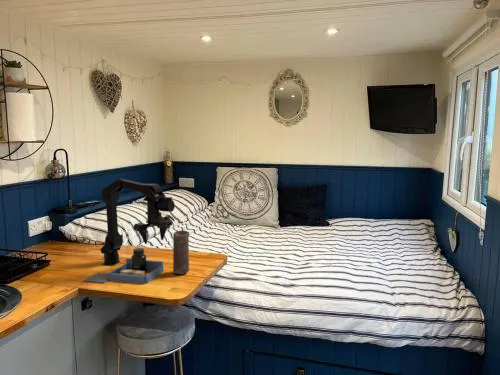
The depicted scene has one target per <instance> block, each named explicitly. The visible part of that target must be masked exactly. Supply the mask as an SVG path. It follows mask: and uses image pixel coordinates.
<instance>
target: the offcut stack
mask: <svg viewBox="0 0 500 375" xmlns="http://www.w3.org/2000/svg"><path fill="white" fill-rule="evenodd" d="M120 274H127V275H137V276H146V275H147V274H145V271H137V270H131V269H128V270H126V269H123V270H121V271H120Z"/></svg>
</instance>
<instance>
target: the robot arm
mask: <svg viewBox="0 0 500 375" xmlns="http://www.w3.org/2000/svg"><path fill="white" fill-rule="evenodd" d="M124 189H126V190H130V191H135V192H138V193H141V194H142V195H144V196H145V197H144V198H143V199H142V201H143V202H146V210H147V211H146V212H145V215H147V216H146V217H147V219H146V220H145V223H143V222H138V223H134V225H133V231H136V232H138V233H139V235H140V237H141V238H142V239H141V240H143V242H144V245H147V244H148V232H149V230H148V229H149V228H152V227H156V228H158V229H159V237H160V240H161V241H164V238H165V235H166V232H167V231H168V229H169V228H171V227H172V226H173V224H174V223H173V222H174V221H173V220H172V219H171V218H170V216H169V215H166V216H163V215H162V212H168V213H169V212H170V213H172V212H173V211H174V210H175V207H176V206H175V201H174V200H173V197H171V196H169V197H167V196H166V195H165V193H164V191H163V190H162V188H161V186H160V184H158V183H142V182H138V181H133V180H128V179H125V178H118V179H116V180H115V181H114V182H113V183H110V184H109V185H107V186H106V187H104V188H102V190H101V198H102V201H103V203H104V204H105V209H106V227H107V233H106V236H105V237H104V238H105V239H104V244H103V246H102V247H101V248H100V253H101V254H102V255H103V259H104V260H103V263H102V265H103V266H104V265H106V266H115V265H117V264H119V263H120V262H121V260H120V255H119V251H121V248H122V246H123V243H124V235H123V234H120V232H119V224H118V222H119V221H118V208H117V206H118V204H117V203H118V201H119V199H120V193H121V192H122V191H123V190H124Z"/></svg>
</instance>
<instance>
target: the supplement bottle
mask: <svg viewBox="0 0 500 375" xmlns="http://www.w3.org/2000/svg"><path fill="white" fill-rule="evenodd" d="M132 251H133V253H132V256H131V257H130V259H131V266H132V270H137V271H145V275H147V272H148V271H147V266H146V260H147V255H146V254H145V249H144V248H143V247H136V248H133V250H132Z"/></svg>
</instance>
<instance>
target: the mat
mask: <svg viewBox="0 0 500 375" xmlns="http://www.w3.org/2000/svg"><path fill="white" fill-rule="evenodd" d="M108 273H109V272H108ZM108 273H106V272H105V273H104V272H97V273H95V274H93V275H91V276H89V277H87V278H86V279H84V280H83V281H84V282H85V283H86V282H87V283H97V284H105V283H107V282H109V281H110V280H109V279H108Z"/></svg>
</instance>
